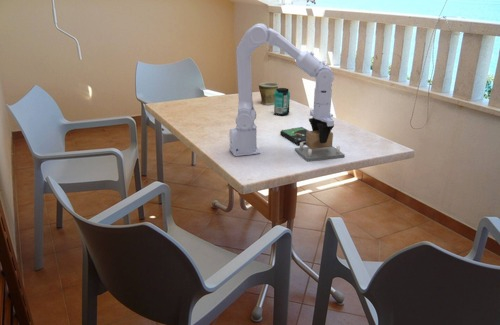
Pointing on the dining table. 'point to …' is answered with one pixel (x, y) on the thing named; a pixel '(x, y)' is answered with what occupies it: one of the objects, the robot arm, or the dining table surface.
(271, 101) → the olive green plant pot
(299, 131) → the disk drive
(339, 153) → the standoff plate
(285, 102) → the beverage can
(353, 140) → the dining table surface
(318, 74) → the robot arm
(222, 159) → the dining table surface
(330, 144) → the walnut block
